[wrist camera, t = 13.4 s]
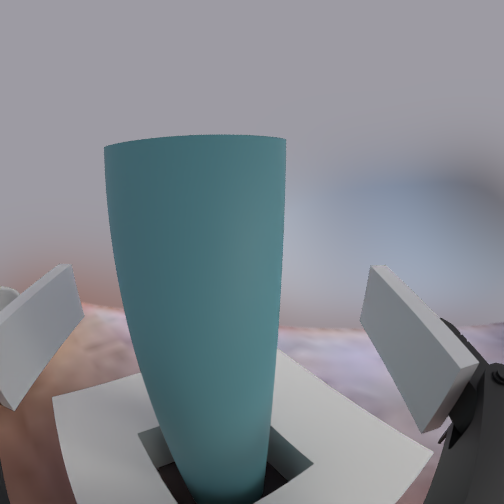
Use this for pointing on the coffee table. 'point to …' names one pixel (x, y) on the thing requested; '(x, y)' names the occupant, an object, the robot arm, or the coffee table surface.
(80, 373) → the coffee table surface
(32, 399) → the coffee table surface
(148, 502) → the socket block
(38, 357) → the robot arm
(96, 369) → the coffee table surface
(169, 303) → the peg
